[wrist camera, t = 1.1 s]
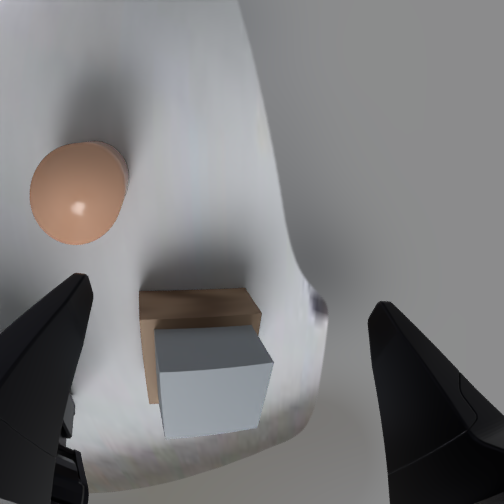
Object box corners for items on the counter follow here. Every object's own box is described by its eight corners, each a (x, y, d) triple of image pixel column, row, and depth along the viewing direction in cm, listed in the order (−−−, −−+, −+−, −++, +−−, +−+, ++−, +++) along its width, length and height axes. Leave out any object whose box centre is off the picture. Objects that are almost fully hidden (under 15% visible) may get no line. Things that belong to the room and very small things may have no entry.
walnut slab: (145, 369, 24) (149, 403, 20) (139, 288, 21) (139, 319, 17) (234, 363, 26) (248, 393, 23) (243, 285, 24) (261, 313, 20)
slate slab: (158, 397, 20) (165, 439, 17) (154, 329, 18) (159, 372, 15) (240, 390, 23) (257, 427, 19) (251, 324, 20) (273, 362, 17)
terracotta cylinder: (57, 219, 17) (33, 245, 13) (57, 142, 15) (29, 146, 11) (128, 217, 19) (123, 244, 14) (131, 140, 17) (124, 142, 13)
